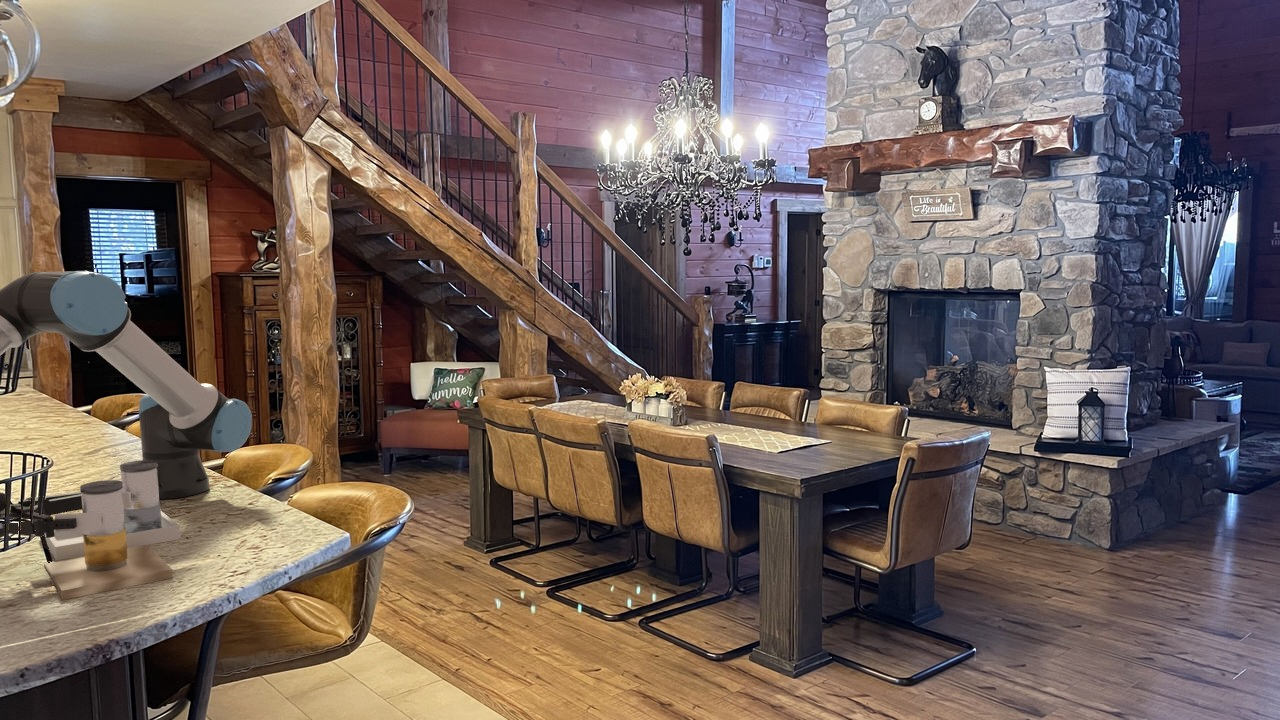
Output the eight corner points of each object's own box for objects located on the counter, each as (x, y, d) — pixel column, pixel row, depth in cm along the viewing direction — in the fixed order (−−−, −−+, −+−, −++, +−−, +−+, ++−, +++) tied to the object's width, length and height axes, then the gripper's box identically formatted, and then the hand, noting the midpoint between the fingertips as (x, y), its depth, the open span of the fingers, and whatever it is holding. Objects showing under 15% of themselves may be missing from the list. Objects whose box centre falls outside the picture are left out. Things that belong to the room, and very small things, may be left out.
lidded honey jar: (123, 557, 167) (118, 478, 166) (131, 566, 162) (126, 485, 161) (82, 565, 163) (76, 484, 162) (89, 574, 158) (83, 491, 157)
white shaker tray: (157, 524, 193) (156, 507, 193) (180, 544, 180) (179, 525, 179) (41, 543, 181) (40, 525, 180) (56, 566, 167) (55, 547, 167)
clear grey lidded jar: (157, 530, 186) (153, 458, 184) (165, 537, 181) (161, 464, 179) (121, 536, 182) (116, 463, 180) (128, 544, 177) (123, 468, 175)
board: (147, 552, 175) (146, 544, 175) (172, 577, 161) (172, 569, 161) (44, 571, 165) (44, 562, 165) (62, 600, 151) (61, 590, 151)
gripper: (14, 518, 171) (142, 512, 175) (-63, 562, 147) (87, 554, 150) (11, 476, 170) (140, 471, 174) (-68, 514, 146) (84, 507, 149)
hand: (116, 509), depth 162 cm, fingers open, 13 cm apart
